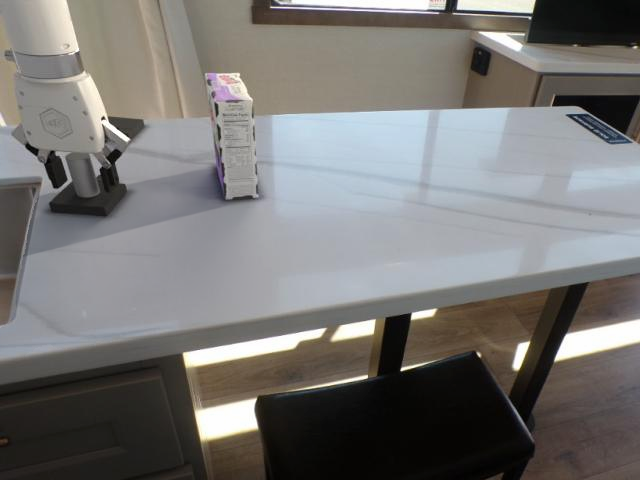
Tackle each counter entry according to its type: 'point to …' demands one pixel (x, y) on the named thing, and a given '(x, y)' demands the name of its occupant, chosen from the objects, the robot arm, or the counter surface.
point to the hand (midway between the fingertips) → (86, 186)
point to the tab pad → (87, 203)
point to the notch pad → (127, 125)
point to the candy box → (233, 134)
